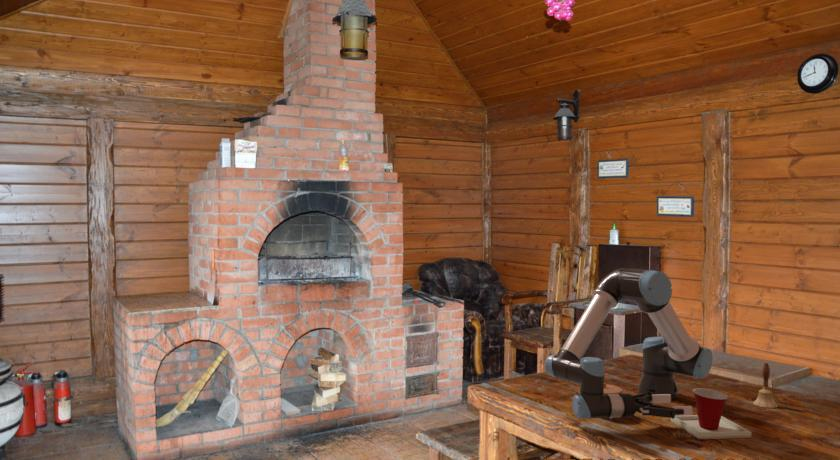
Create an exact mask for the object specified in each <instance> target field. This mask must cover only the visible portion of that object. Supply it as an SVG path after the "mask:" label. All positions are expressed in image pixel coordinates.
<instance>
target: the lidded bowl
mask: <svg viewBox="0 0 840 460" xmlns="http://www.w3.org/2000/svg"><path fill="white" fill-rule="evenodd" d="M604 394H624V391H623V389H622V388H621V387H620V386H617V385H613V384H610V383H609V384H607V382H604Z"/></svg>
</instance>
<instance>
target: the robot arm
mask: <svg viewBox="0 0 840 460" xmlns="http://www.w3.org/2000/svg"><path fill="white" fill-rule="evenodd" d="M672 293H673V289H672V283H671V279H670V278H669V277H668V275H667V274H666V273H664V272H662V271H657V270H655V269H641V268H640V269H639V268H628V267H622V268H618V269H614V270H613V271H611V272H609V273H608V274H607V275H605V276H604V277H603V278H602V279H601V280H600V281H599V282H598V284H597V285H596V286H595V288H594V289H593V291H592V293H591V296H592V298H591V300H590V301H589V303H588V305H587V306H586V308H585V309H584V311H583V313H582V314H581V316H580V317H579V319H578V320H577V322H576V324H575V326H574V327H573V329H572V330H571V332H570V333H569V336H568V337H567V338H566V340H565V342H564V343H563V344H562V346H561V349H560V350H559V352H558V353H557V354H550V355H549V356H548V357H547V358H546V359H545V361H544V370H545V372H546V374H547V375H549V376H550V377H553V378H555V379H558V380H562V381H567V382H570V383H573V384H577V385H579V393H578V394H575V395H573V396H572V400H571V408H572V412H573V414H574V416H575V417H576V418H578V419H589V420H590V419H602V418H603V419H604V418H605V419H608V418H609V419H610V420H613V418H633V417H634V416H635V414H636V412H638V413H640V414H641V415H642V416H650V417H651V416H653V417H660V418H669V419H670V420H671V419H674V418H675V416H682V415H693V406H692V405H687V406H685V405H684V406H683V405H681V406H680V405H679V406H676V405H675V406H674V405H673V406H671V407H670V406H665V405H659V403H660V404H662V403H663V404H669V403H672V400H677V398H679V389H678V387H677V383H676V381H675V380H676V379H675V378H674V376H675V375H674V373H675V374H678V375H683V376H687V377H690V378H691V377H692V378H693V379H704V378H706V377H707V376H708V375H709V373H710V371H711V369H712V365H713V360H714V358H713V352H712V350H711V349H710V348H707V347H703V346H701V345H700V343H699V342H698V340H697V339H696V338H695V337H693V336H691V335H690V334H689V333H688V331H687V329H686V328H685V325H684V324H683V323H682V321H681V320H680V318H679V316H678V314H677V312H676V310H675V309H674V308H673V306H672V304H671V302H670V300H671V299H672V298H671V297H672V295H673V294H672ZM621 301H627V302H634V303H635V304H636V306H637V307H638V309H639V310H640V311H641V312H643V313H644V314H647V315H648V317H649V318H650V320H651V321H652V323H653V324H654V326H655V328H656V329H657V331H658V332H659V334H660V336H649V337H646V338H644V340H643V344H642V375H641V378H640V379H639V381H638V385H637V394H631V393H622V394H604V383H605V364H604V360H603V359H601V358H599V357H593V356H586V357H584V355H585V353H586V351H588V349H589V347H590V345H591V343H592V341H594V338H595V337H596V335H597V333H598V332H599V330H600V329H601V327H602V325H603V324H604V322H605V320H606V318H607V317H608V315H609V314H610V311H611V310H612V309H614V308H616V307H617V306H618V304H619V303H620V302H621Z"/></svg>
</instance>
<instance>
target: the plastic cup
mask: <svg viewBox="0 0 840 460" xmlns="http://www.w3.org/2000/svg"><path fill="white" fill-rule="evenodd" d="M692 393H693V394H694V400H695V405H696V412H697V413H696V415H698V420H699V425H700V427H701V428H703V429H707V430H717V429H718V427H719V423H720V419H721V416H723V415H722V414H723V411H724V406H725V403H726V401H727V400H728V398H729V396H728V395H727V394H726V393H724V392H721V391H717V390H715V389H709V388H700V387H699V388H693V389H692Z"/></svg>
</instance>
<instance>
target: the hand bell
mask: <svg viewBox="0 0 840 460" xmlns="http://www.w3.org/2000/svg"><path fill="white" fill-rule="evenodd" d="M770 369H771V368H770V365H769V363H767V362H764V364H763V366H762V370H761V373H762V374H761V375H762V378H763V379H762V380H763V384H762V385H763V386H762V388H761V389H759V390H758V395H757V398H756V399H755V400H754V401H753V402H752V404H753V405H754V406H756V407H758V408H759V407H760V408H765V409H776V408H778V407H779V406H778V404H777V403H776V401H775V399H774V396H773V392H772V390H770V389H769V379H770V375H771V370H770Z"/></svg>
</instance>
